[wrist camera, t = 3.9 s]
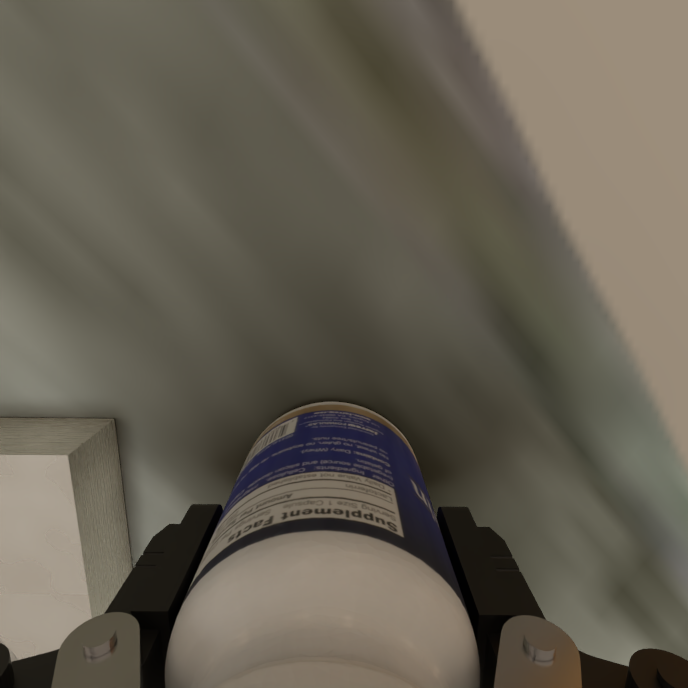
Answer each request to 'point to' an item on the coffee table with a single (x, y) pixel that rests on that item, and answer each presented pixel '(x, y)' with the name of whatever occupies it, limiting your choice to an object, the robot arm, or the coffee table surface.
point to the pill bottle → (325, 569)
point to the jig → (58, 529)
